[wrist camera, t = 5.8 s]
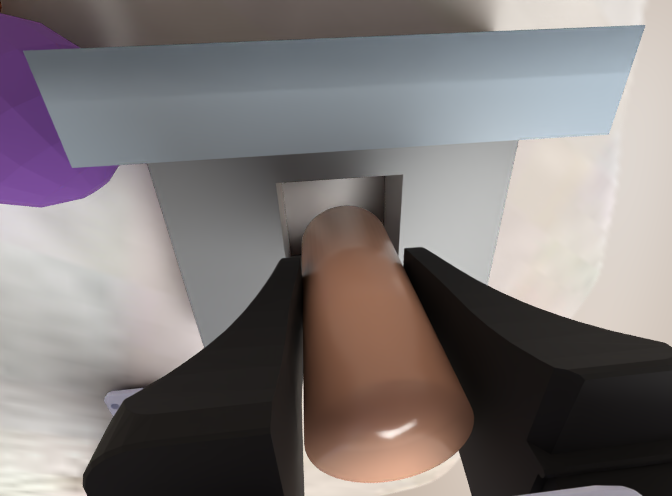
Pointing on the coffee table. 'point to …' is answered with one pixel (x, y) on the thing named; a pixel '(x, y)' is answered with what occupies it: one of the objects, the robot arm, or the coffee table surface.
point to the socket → (329, 134)
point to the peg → (372, 359)
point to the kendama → (34, 127)
